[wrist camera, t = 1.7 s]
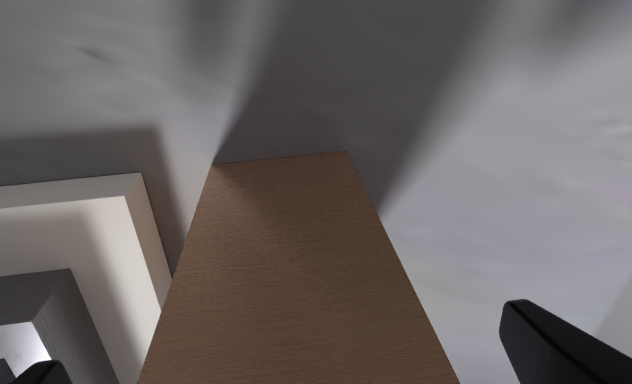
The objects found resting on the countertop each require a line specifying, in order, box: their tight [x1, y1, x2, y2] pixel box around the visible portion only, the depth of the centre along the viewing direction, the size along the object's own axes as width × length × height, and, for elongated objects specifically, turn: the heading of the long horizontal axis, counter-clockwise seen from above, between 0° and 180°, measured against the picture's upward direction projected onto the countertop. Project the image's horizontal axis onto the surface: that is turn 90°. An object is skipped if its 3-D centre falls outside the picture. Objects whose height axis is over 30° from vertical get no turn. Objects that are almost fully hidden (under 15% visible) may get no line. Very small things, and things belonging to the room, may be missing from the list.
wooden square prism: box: [137, 151, 460, 384], centre depth 9 cm, size 4×4×9 cm
